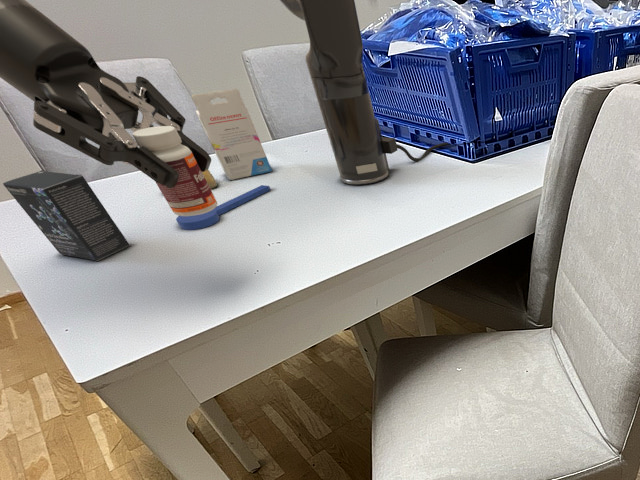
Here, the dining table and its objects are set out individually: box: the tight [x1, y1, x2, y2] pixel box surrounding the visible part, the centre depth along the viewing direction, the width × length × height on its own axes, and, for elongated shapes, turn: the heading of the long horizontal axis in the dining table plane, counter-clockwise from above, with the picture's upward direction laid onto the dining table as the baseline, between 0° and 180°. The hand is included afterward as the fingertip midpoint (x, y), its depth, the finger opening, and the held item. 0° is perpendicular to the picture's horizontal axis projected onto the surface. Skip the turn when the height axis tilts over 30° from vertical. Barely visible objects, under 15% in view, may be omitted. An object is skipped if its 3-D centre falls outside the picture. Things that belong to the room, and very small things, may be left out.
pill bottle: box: [131, 125, 218, 217], centre depth 50 cm, size 5×5×8 cm
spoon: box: [175, 184, 271, 231], centre depth 80 cm, size 19×6×1 cm, turn 162°
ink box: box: [191, 88, 273, 181], centre depth 89 cm, size 8×5×15 cm, turn 127°
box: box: [2, 169, 130, 262], centre depth 65 cm, size 8×6×11 cm
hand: (191, 172), depth 50 cm, fingers closed on pill bottle, 4 cm apart
